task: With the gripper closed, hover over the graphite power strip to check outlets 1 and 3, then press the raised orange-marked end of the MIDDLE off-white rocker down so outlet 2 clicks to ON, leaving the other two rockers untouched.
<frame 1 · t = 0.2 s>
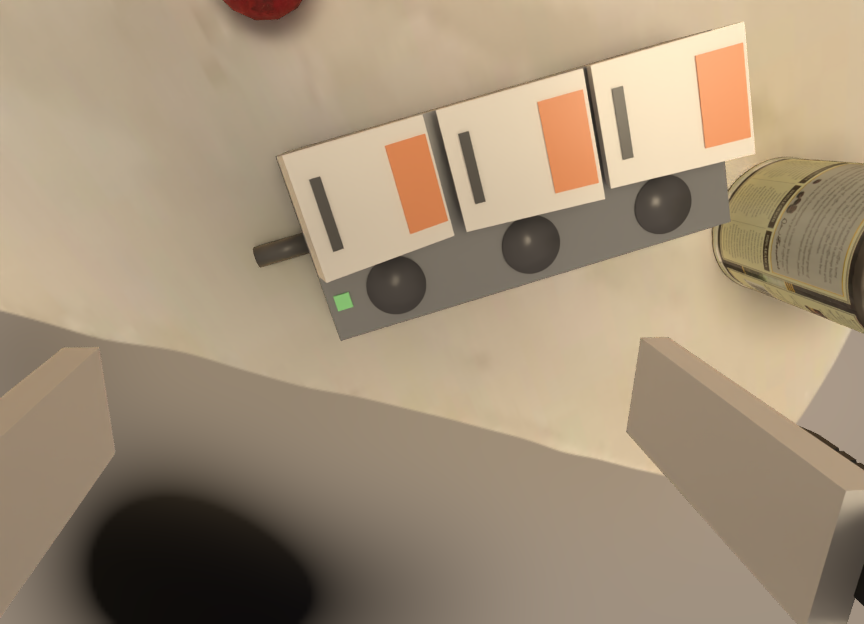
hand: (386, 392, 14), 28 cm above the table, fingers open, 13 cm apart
power strip: (499, 183, 41), on the table
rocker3: (669, 109, 34), point 7 cm above the table, hinge at 15.0°
coffee can: (771, 224, 45), on the table
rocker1: (369, 197, 33), point 7 cm above the table, hinge at -15.0°
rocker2: (520, 153, 33), point 7 cm above the table, hinge at 15.0°
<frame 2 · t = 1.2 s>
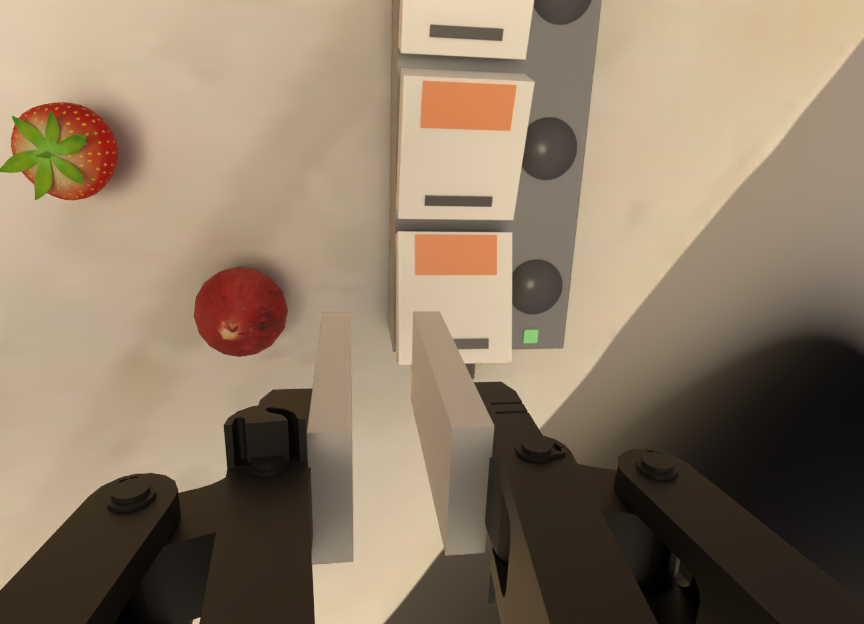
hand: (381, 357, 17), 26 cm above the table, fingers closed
power strip: (476, 144, 41), on the table
fruit: (98, 148, 38), on the table
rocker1: (453, 297, 36), point 7 cm above the table, hinge at -15.0°
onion: (250, 295, 42), on the table
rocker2: (460, 148, 34), point 7 cm above the table, hinge at 15.0°
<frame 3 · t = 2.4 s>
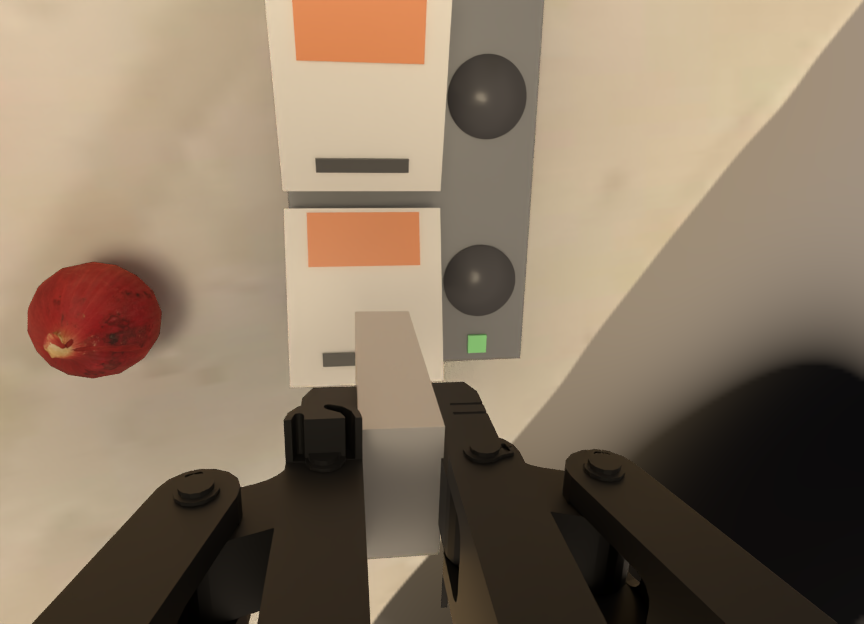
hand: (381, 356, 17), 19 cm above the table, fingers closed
power strip: (403, 99, 32), on the table
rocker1: (365, 296, 27), point 7 cm above the table, hinge at -15.0°
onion: (124, 297, 33), on the table
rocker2: (360, 92, 25), point 7 cm above the table, hinge at 15.0°
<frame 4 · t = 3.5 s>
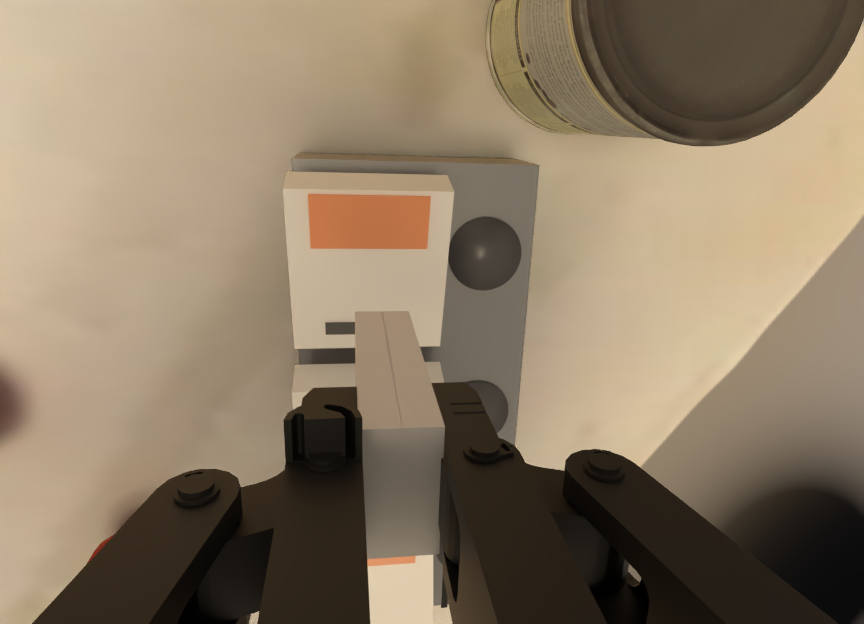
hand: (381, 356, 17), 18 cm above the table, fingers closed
power strip: (404, 376, 37), on the table
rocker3: (368, 265, 27), point 7 cm above the table, hinge at 15.0°
coffee can: (573, 38, 32), on the table
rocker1: (368, 581, 32), point 7 cm above the table, hinge at -15.0°
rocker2: (368, 438, 30), point 7 cm above the table, hinge at 15.0°
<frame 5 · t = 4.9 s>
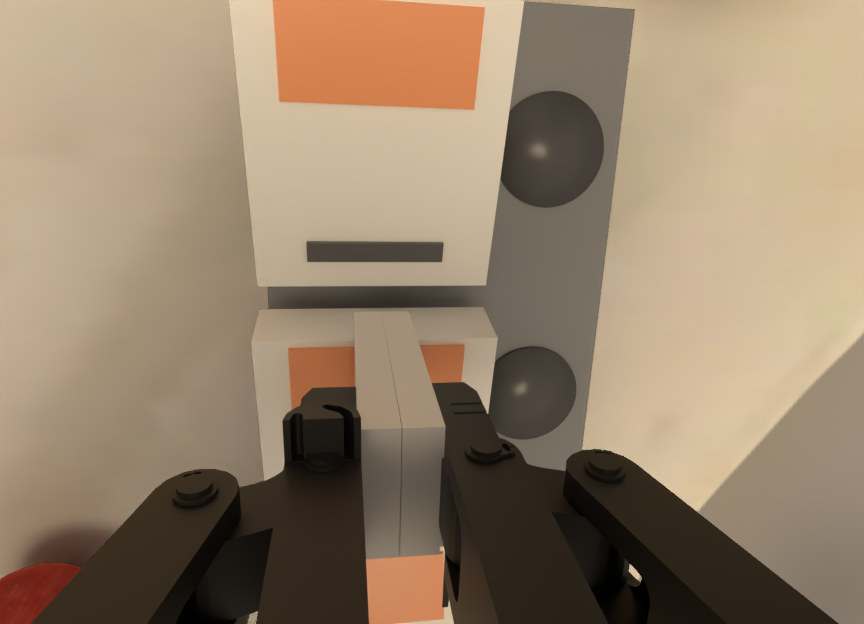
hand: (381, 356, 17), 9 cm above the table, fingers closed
power strip: (420, 349, 27), on the table
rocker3: (375, 147, 17), point 7 cm above the table, hinge at 15.0°
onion: (78, 572, 28), on the table
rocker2: (374, 430, 19), point 7 cm above the table, hinge at 10.5°, touching gripper
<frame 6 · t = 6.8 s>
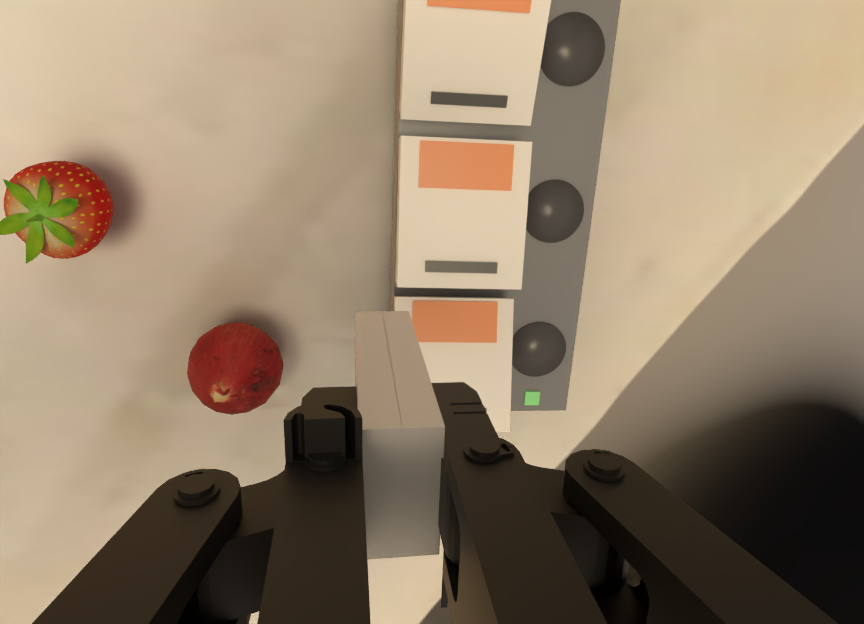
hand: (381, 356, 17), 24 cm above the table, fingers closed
power strip: (480, 198, 40), on the table
fruit: (95, 199, 37), on the table
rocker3: (472, 37, 30), point 7 cm above the table, hinge at 15.0°
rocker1: (451, 363, 35), point 7 cm above the table, hinge at -15.0°
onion: (247, 345, 42), on the table
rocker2: (461, 214, 32), point 7 cm above the table, hinge at -5.6°
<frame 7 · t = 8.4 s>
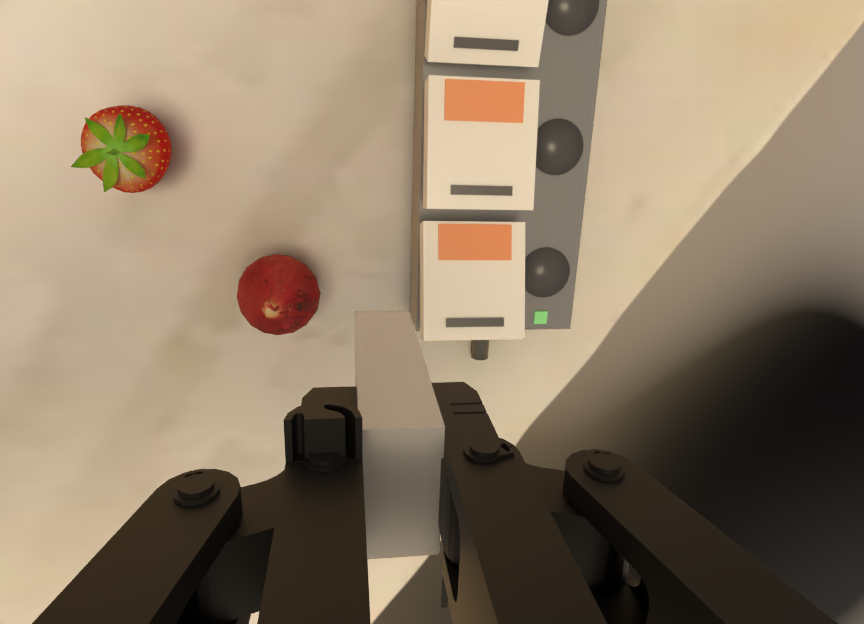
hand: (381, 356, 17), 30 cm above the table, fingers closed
power strip: (490, 143, 45), on the table
fruit: (150, 146, 42), on the table
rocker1: (472, 281, 40), point 7 cm above the table, hinge at -15.0°
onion: (284, 280, 46), on the table
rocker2: (479, 146, 38), point 7 cm above the table, hinge at -6.8°
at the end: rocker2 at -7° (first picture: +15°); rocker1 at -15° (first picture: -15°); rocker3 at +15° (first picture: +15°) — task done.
